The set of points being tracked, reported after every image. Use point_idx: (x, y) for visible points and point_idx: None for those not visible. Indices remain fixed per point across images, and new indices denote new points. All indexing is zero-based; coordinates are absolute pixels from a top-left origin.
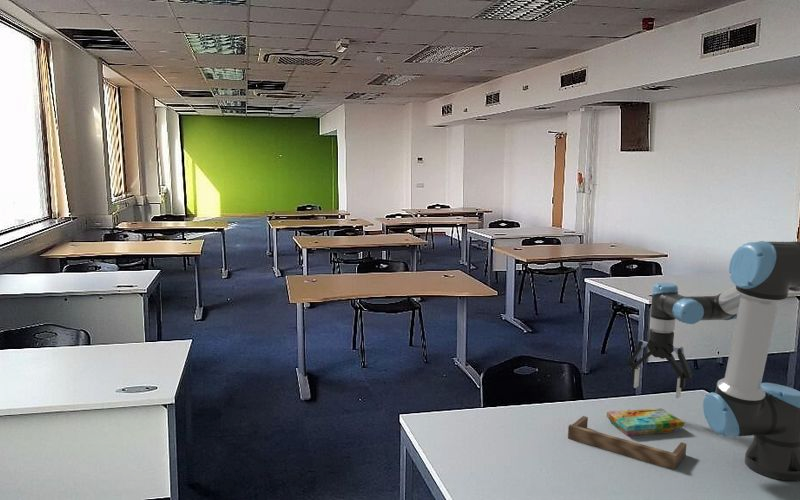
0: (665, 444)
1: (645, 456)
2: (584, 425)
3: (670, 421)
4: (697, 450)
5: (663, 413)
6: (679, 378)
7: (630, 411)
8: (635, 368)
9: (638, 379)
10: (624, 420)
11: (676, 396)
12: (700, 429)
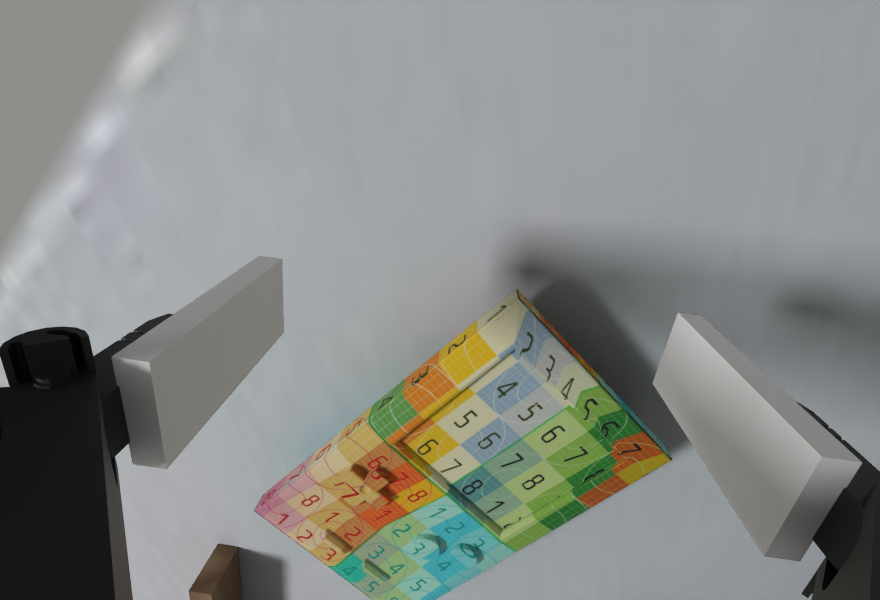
0: (564, 562)
1: None
2: (229, 590)
3: (591, 497)
4: (701, 561)
5: (541, 389)
6: (797, 543)
7: (360, 494)
8: (123, 441)
9: (248, 303)
10: (366, 579)
11: (662, 392)
12: (752, 325)
